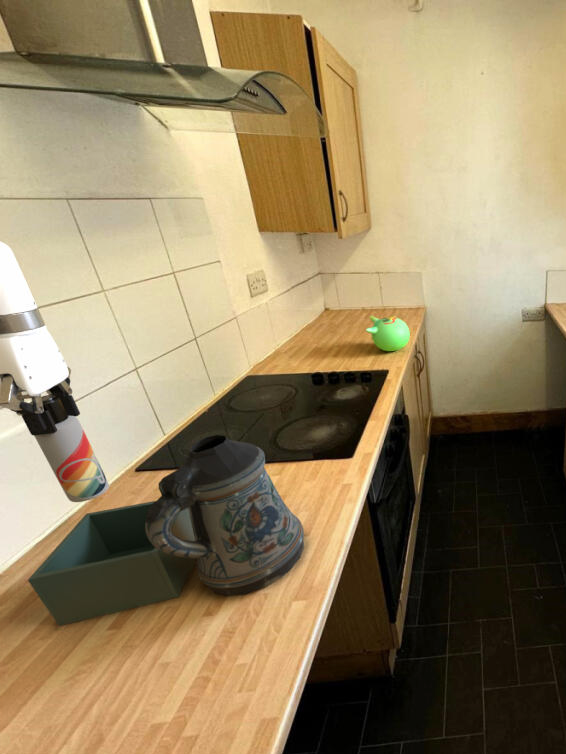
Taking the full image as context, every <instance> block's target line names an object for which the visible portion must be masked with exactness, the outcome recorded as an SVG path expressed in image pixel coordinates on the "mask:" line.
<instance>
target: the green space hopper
mask: <svg viewBox="0 0 566 754" xmlns="http://www.w3.org/2000/svg"><path fill="white" fill-rule="evenodd" d="M369 319H370V321H371V322H372V323H373V326H372V327H368V328H366V329H365V332H366V333H368V334H371V335H370V336H371V339H372V341H373V343H374V345H375V346H376V347H377V348H378V349H380V350H382V351H384V352H385V351H386V352H395V351H399V350H401V349H403V348H404V347H406V346H407V344H408V343H409V341H410V339H411V338H410V336H411V333H410V329H409V326H408V324H407V323H406V322H405V321H404V320H403V319H401V318H399V317H397V316H396V315H394V316H390V317H389V316H388V317H387V316H386V317H382V318H381V319H380V318H377V317H375V316H373V315H369Z"/></svg>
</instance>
